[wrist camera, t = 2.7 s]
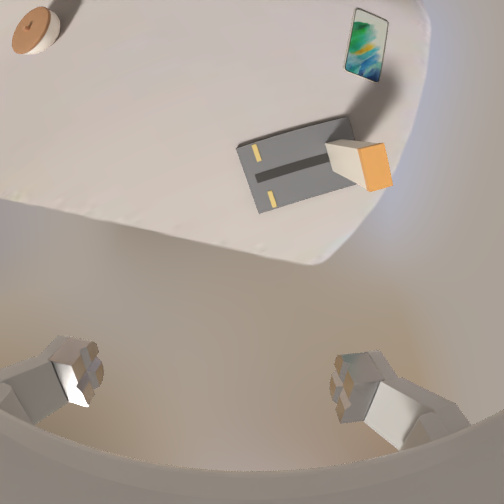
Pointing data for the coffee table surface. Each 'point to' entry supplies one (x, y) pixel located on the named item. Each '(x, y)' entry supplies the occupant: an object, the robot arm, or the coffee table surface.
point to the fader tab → (361, 163)
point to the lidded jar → (36, 31)
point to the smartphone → (366, 46)
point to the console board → (294, 165)
